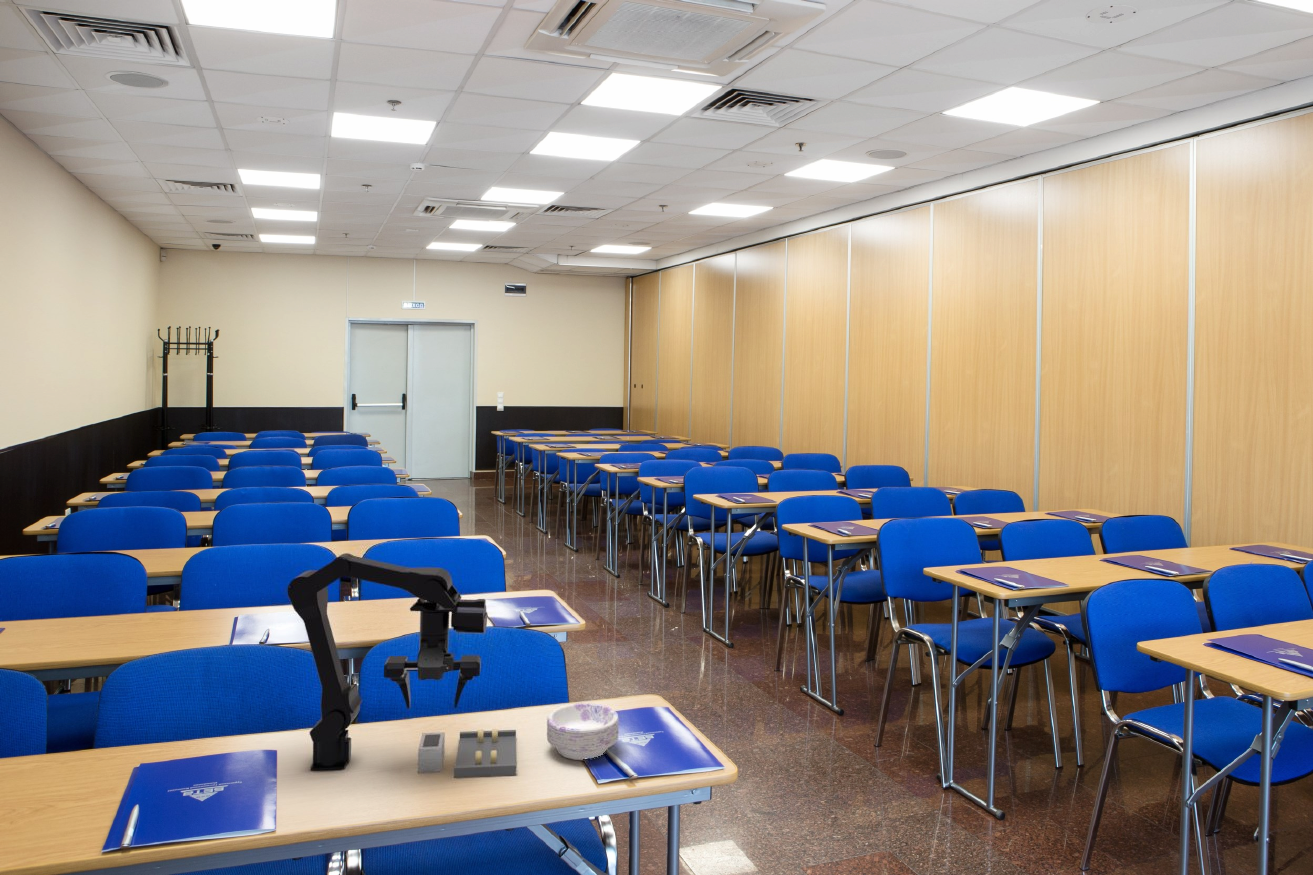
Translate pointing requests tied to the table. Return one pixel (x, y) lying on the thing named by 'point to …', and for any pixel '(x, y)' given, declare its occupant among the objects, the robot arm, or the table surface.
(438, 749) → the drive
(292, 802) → the table surface
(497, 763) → the tray
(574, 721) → the paper bowls
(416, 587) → the robot arm
